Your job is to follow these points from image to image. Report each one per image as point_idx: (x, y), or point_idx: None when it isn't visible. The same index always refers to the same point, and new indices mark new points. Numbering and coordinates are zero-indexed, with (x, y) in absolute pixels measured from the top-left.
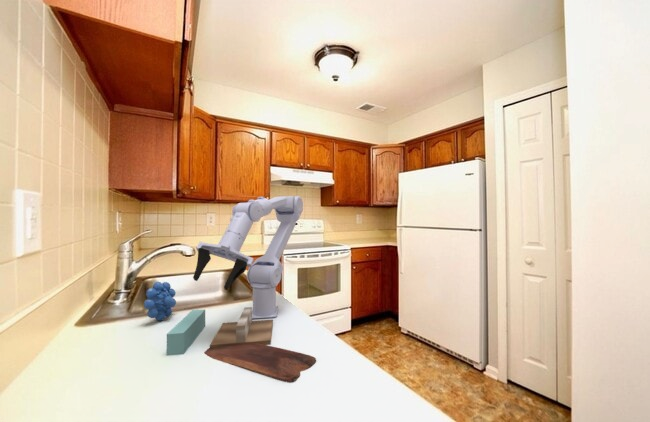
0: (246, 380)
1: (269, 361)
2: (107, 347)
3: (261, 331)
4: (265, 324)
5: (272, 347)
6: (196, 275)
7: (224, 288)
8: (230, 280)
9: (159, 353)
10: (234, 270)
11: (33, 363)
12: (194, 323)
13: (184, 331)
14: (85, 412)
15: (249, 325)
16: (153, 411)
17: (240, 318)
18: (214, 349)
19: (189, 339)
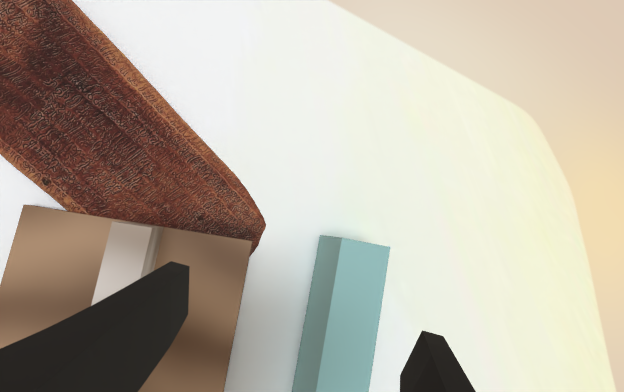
0: (147, 26)
1: (61, 57)
2: (505, 341)
3: (47, 303)
4: None
5: (29, 155)
6: (430, 342)
7: (188, 296)
8: (121, 290)
9: None
10: (21, 367)
11: (595, 297)
12: (320, 347)
13: (341, 251)
14: (436, 69)
15: None
16: (333, 15)
17: None
18: (236, 227)
19: (318, 285)
